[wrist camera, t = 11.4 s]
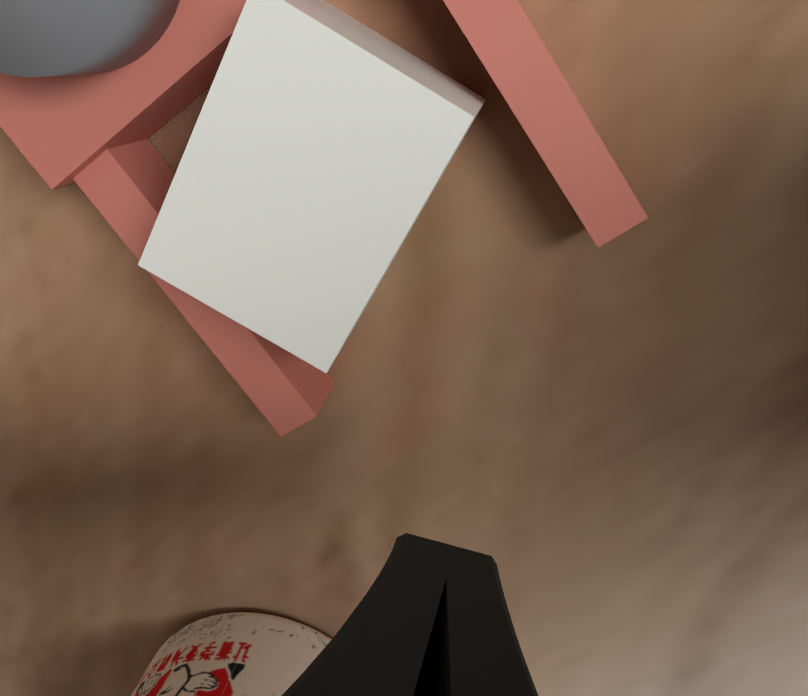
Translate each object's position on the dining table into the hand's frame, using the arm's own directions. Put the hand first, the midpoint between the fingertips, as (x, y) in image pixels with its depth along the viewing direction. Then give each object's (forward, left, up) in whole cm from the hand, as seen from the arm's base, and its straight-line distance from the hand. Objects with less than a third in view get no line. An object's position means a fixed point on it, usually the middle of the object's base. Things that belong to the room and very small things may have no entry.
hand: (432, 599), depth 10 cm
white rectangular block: (+6, 0, -10) cm, 12 cm away
